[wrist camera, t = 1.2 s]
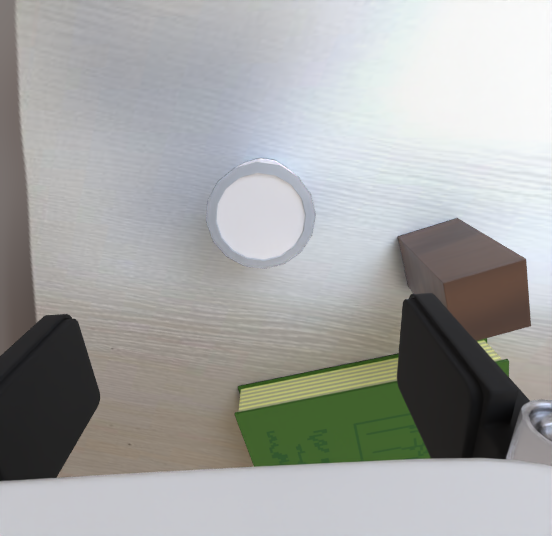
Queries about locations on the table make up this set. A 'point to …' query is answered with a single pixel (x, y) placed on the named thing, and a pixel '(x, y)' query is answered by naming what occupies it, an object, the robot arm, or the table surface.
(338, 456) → the hardcover book
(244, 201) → the white cup
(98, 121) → the table surface
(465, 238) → the walnut block
